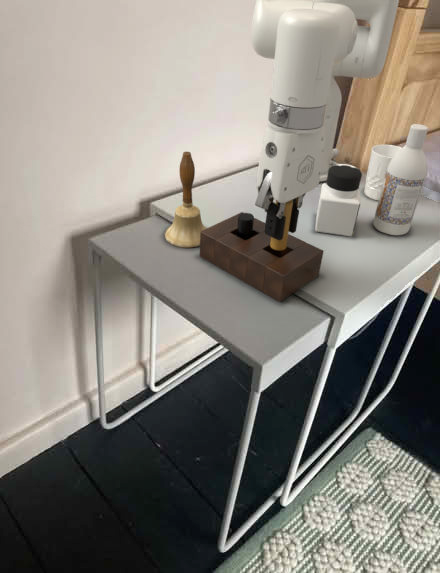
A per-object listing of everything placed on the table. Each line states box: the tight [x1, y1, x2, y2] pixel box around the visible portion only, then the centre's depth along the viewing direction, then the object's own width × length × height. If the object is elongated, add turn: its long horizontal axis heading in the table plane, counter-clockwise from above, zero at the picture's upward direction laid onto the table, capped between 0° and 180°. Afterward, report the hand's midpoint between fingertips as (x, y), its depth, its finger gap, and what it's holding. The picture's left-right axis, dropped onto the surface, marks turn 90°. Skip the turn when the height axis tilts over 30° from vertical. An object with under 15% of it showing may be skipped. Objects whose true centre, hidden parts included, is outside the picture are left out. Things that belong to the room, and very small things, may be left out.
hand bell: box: [164, 151, 207, 249], centre depth 87 cm, size 8×8×16 cm
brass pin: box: [270, 200, 293, 250], centre depth 77 cm, size 3×3×8 cm
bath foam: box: [372, 123, 429, 236], centre depth 92 cm, size 7×7×20 cm
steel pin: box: [237, 212, 255, 241], centre depth 84 cm, size 3×3×8 cm
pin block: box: [199, 211, 325, 303], centre depth 83 cm, size 18×11×5 cm, turn 47°
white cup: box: [363, 144, 403, 201], centre depth 107 cm, size 8×8×10 cm
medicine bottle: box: [314, 163, 363, 237], centre depth 94 cm, size 7×7×12 cm
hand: (280, 232), depth 78 cm, fingers closed on brass pin, 2 cm apart
